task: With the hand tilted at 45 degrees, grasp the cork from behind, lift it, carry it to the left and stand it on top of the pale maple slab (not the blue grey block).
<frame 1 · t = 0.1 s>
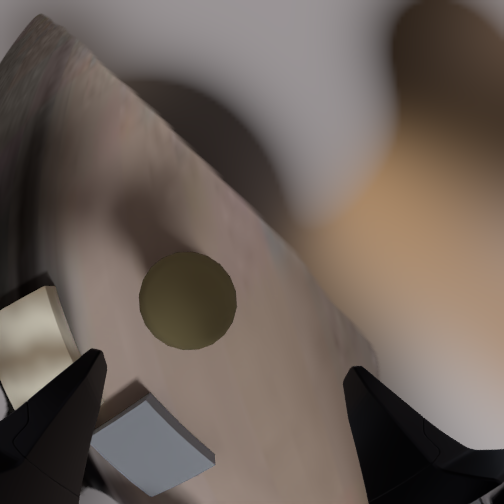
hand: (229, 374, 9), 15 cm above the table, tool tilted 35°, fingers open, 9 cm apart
maple slab: (37, 360, 20), on the table
blue grey block: (151, 443, 21), on the table
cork: (196, 296, 23), on the table
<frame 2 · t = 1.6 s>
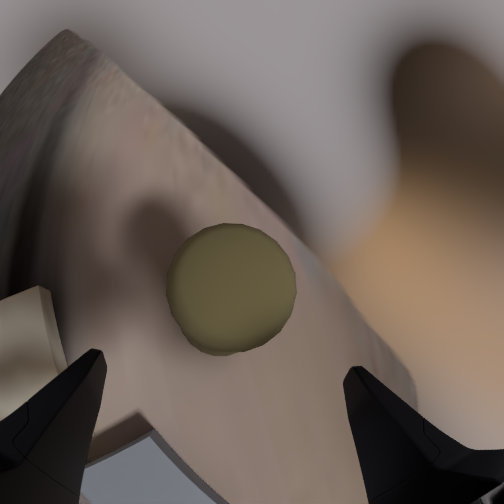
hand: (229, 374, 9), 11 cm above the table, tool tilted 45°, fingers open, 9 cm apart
maple slab: (18, 375, 14), on the table
blue grey block: (151, 490, 14), on the table
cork: (219, 315, 20), on the table
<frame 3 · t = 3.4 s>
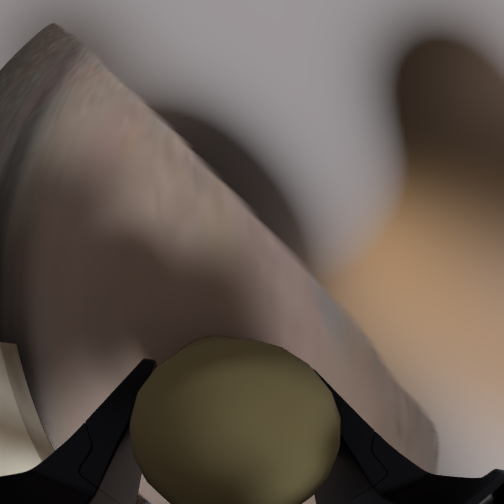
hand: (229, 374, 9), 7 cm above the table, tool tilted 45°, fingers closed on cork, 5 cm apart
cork: (218, 385, 14), on the table, touching gripper
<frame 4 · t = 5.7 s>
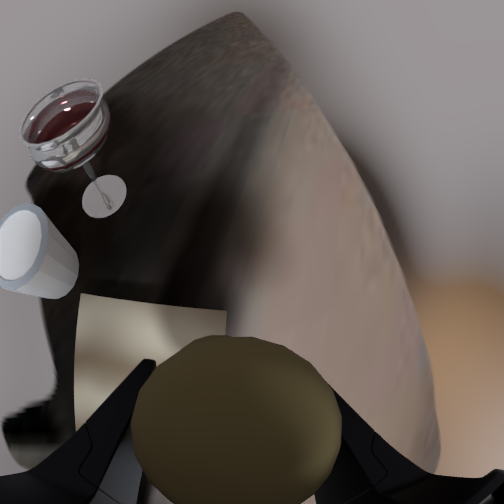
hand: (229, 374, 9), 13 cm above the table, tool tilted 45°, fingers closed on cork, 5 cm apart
wineglass: (104, 196, 24), on the table
maple slab: (148, 377, 19), on the table
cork: (219, 384, 14), point 6 cm above the table, touching gripper
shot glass: (56, 270, 21), on the table
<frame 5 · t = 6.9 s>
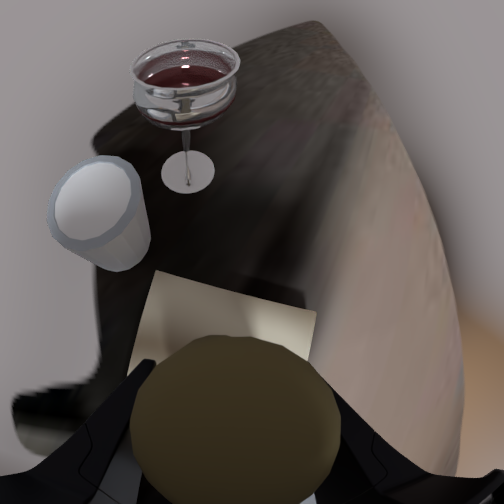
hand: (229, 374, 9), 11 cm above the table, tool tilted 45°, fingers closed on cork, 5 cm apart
wineglass: (187, 171, 24), on the table
maple slab: (216, 372, 19), on the table
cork: (218, 384, 14), point 5 cm above the table, touching gripper
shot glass: (120, 240, 21), on the table
when the fingers open (9 cm above the table, at t = 8.0 s): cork stays where it is, resting on maple slab.
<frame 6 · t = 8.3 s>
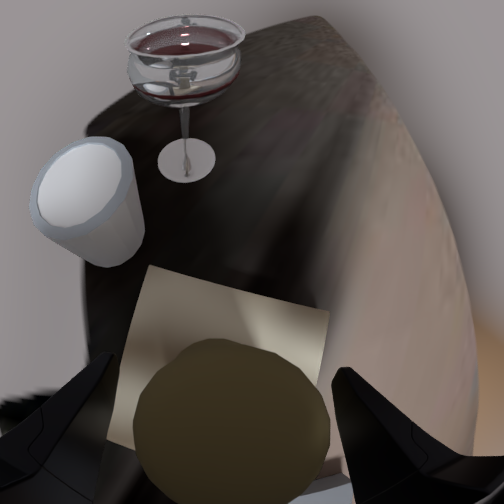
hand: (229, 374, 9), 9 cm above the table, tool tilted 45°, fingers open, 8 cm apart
wineglass: (186, 160, 22), on the table
maple slab: (217, 380, 17), on the table
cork: (217, 386, 15), point 2 cm above the table, touching maple slab
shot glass: (111, 232, 19), on the table
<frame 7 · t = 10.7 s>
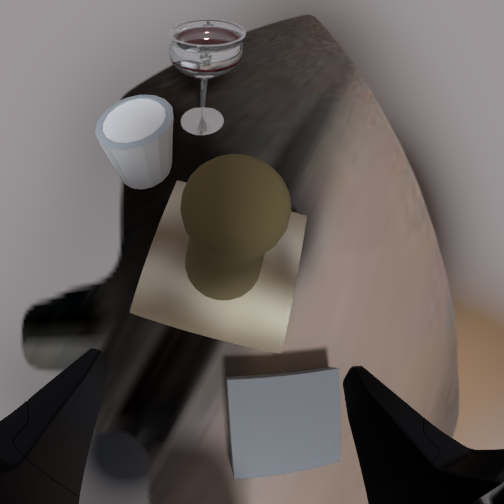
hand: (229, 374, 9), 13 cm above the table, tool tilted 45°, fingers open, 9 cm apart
wineglass: (202, 121, 29), on the table
maple slab: (222, 267, 23), on the table
blue grey block: (280, 420, 20), on the table
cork: (223, 263, 22), point 2 cm above the table, touching maple slab
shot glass: (145, 167, 26), on the table
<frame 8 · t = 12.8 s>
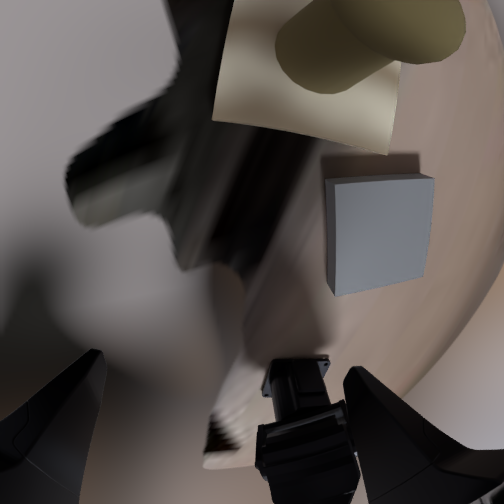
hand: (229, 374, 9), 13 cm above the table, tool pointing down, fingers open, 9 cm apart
maple slab: (313, 57, 15), on the table
blue grey block: (374, 226, 22), on the table
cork: (320, 53, 14), point 2 cm above the table, touching maple slab
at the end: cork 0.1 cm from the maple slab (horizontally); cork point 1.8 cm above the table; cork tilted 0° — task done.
